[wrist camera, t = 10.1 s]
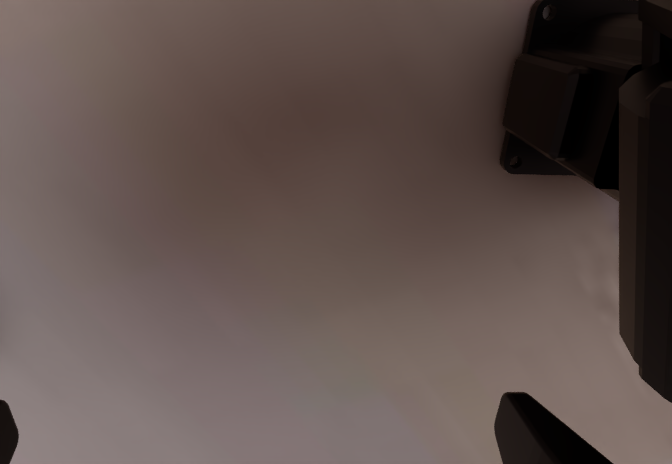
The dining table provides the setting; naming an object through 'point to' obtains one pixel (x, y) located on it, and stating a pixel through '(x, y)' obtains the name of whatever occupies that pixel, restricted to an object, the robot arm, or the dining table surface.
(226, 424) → the dining table surface
